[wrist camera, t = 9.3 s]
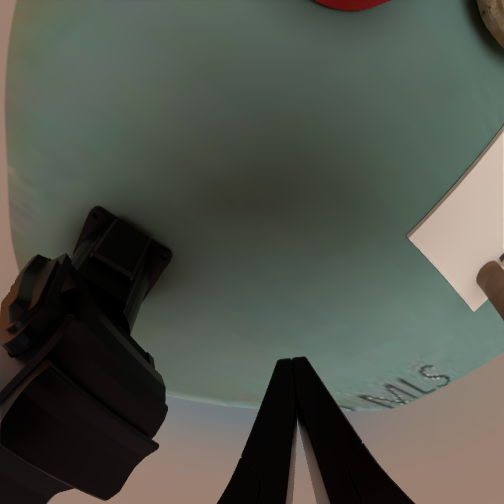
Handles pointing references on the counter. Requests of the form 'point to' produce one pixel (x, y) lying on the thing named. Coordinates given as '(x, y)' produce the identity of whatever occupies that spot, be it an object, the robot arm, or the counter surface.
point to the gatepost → (492, 284)
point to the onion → (493, 17)
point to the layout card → (468, 224)
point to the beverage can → (352, 4)
